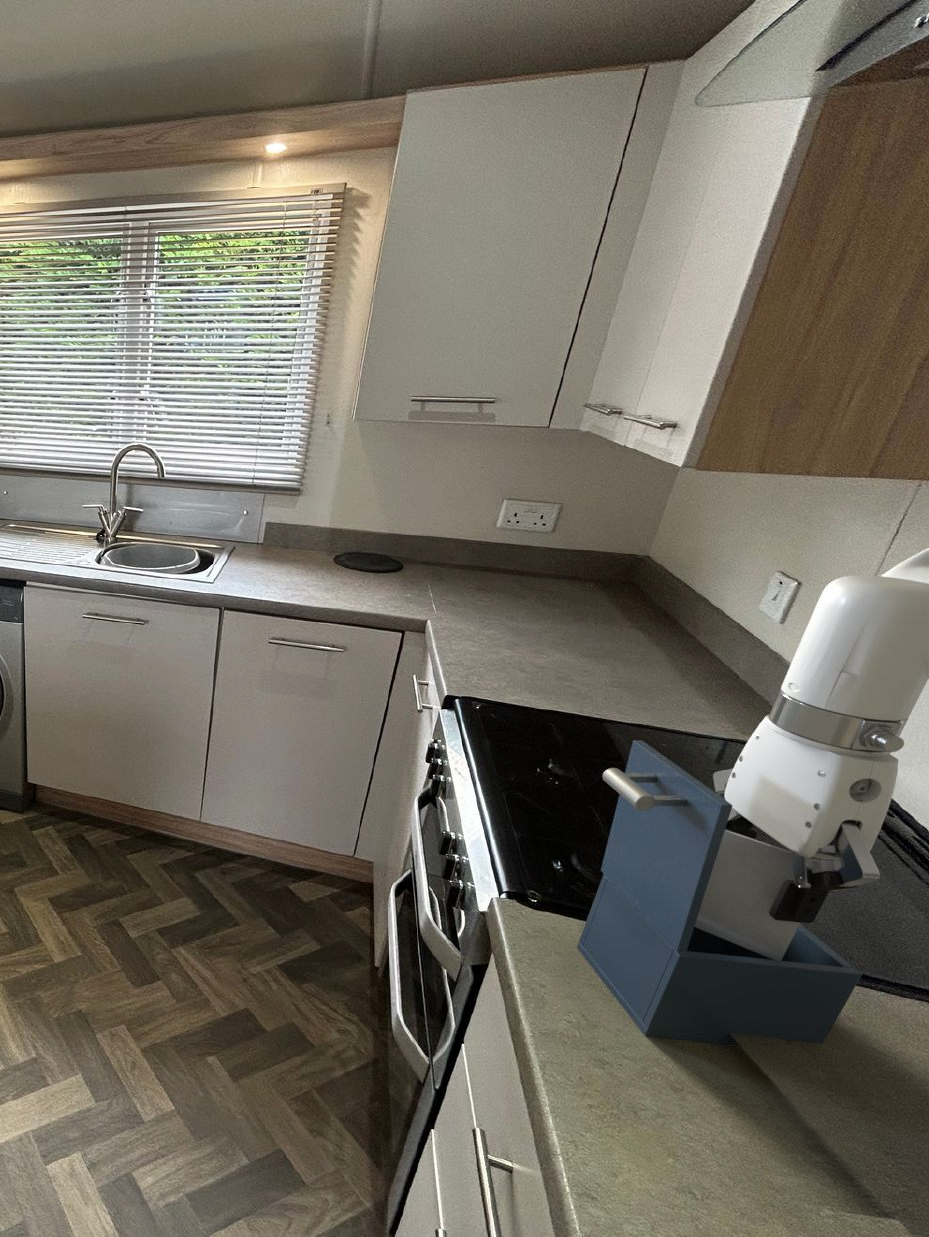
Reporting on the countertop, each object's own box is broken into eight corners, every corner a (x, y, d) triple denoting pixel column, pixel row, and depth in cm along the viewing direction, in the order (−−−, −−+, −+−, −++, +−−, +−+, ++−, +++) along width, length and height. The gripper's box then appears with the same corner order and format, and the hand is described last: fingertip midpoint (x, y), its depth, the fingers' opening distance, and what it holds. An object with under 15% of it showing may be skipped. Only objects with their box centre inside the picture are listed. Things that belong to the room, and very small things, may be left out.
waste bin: (722, 962, 77) (757, 888, 74) (816, 1055, 67) (862, 974, 63) (576, 947, 79) (603, 874, 76) (644, 1035, 69) (680, 955, 65)
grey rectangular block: (780, 962, 66) (825, 873, 63) (685, 922, 71) (721, 837, 67) (784, 943, 69) (827, 856, 65) (692, 906, 73) (727, 823, 70)
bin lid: (641, 740, 70) (586, 740, 71) (733, 805, 59) (666, 804, 60) (608, 870, 75) (557, 869, 76) (686, 952, 65) (626, 949, 66)
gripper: (995, 777, 53) (888, 963, 59) (795, 684, 69) (728, 839, 75) (880, 769, 54) (786, 953, 60) (709, 679, 70) (650, 832, 76)
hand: (754, 888), depth 68 cm, fingers closed on grey rectangular block, 7 cm apart
